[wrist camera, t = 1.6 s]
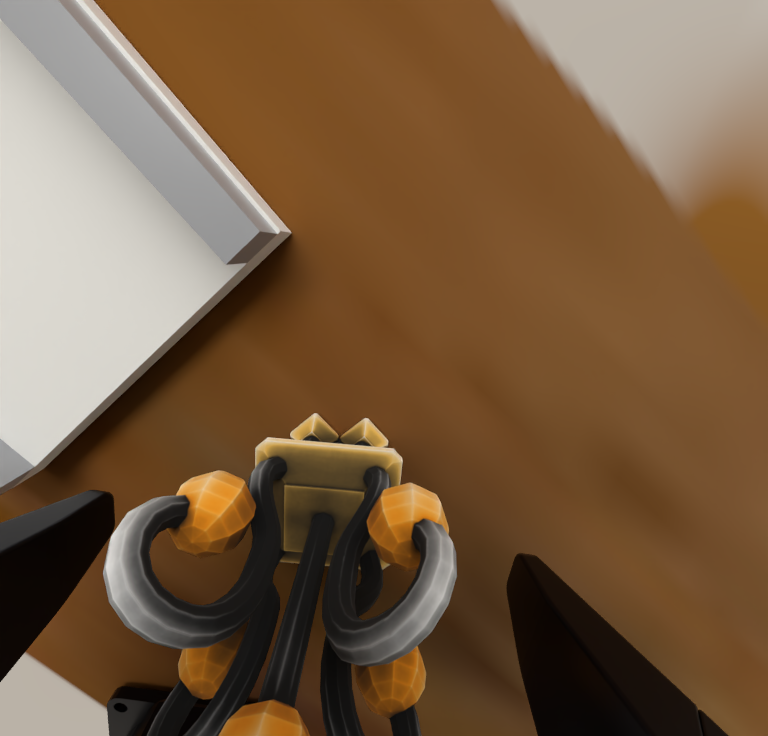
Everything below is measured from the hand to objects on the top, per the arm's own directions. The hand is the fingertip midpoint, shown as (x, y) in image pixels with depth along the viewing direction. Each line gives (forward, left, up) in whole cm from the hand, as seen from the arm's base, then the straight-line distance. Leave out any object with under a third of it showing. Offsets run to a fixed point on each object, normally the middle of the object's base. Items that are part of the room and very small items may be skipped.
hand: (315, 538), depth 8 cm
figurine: (0, 0, -4) cm, 4 cm away
